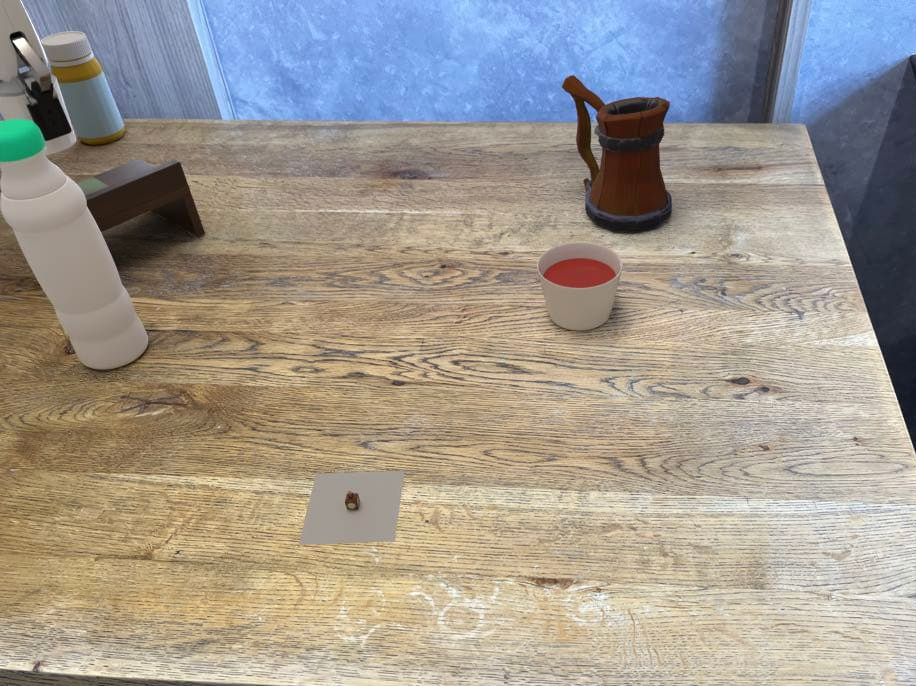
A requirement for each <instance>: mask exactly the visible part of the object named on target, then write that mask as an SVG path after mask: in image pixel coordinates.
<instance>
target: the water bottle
mask: <svg viewBox="0 0 916 686" xmlns="http://www.w3.org/2000/svg"><path fill="white" fill-rule="evenodd" d="M46 150H47V148H46V146H45V140H44V137H43V135H42V133H41V131H40V129H39V127H38V126H37V125H36V124H35V123H34V122H32V121H30V120H26V119H12V120H1V121H0V171H1V176H0V191H1V192H0V211H1V215H2V217H3V219H4V220H5V222H6V223H7V225H9V226H10V227H11V228H12V230H13V233H14V236H15V238H16V240H17V241H16V242H17V243H18V245H19V247H20V250H21V251H22V254H23V256H24V257H25V260H26V262H27V263H28V265H29V267H30V269H31V271H32V273H33V275H34V277H35V279H36V280H37V282H38V284H39V286H40V287H41V289H42V290H43V291H42V292H44V294H45V296H46V298H47V299H48V300H49V301H50V303H51V305H52V306H53V308H54V312H55V315H56V318H57V320H58V322H59V324H60V325H61V327H62V329H63V330H64V331H65V333H66V334H67V335H68V337H69V340H70V343H71V346H72V348H73V351H74V352H75V354H76V356H77V358H78V360H79V361H80V363H82V365H84V366H85V367H87V368H90V369H94V370H101V371H102V370H113V369H117V368H118V369H119V368H121V367H123V366H127V365H128V364H130V363H133V362H134V361H136V360H137V359H138V358H139V357H140V356H141V355H142V354H143V353H145V351H146V350H147V347H148V344H149V336H148V335H149V334H148V332H147V331H146V328H145V326H144V324H143V322H142V320H141V319H140V317H139V316H138V314H137V313H136V310H135V306H134V302H133V300H132V298H131V296H130V294H129V292H128V290H127V288H125V286H124V285H123V284H122V283H123V282H122V280H121V277H120V274H119V271H118V268H117V265H116V263H115V260H114V258H113V256H112V254H111V252H110V249H109V247H108V244H107V242H106V241H105V238H104V235H103V233H102V232H100V229H99V227H98V225H97V224H96V222H95V220H94V218H93V216H92V214H91V213H90V211H89V209H88V208H87V202H86V198H85V195H84V193H83V191H82V190H81V188H80V187H79V186H78V185H77V184H76V183H77V182H75V181H74V180H73V179H72V178H71V177H70V176H68V175H67V174H66V173H64V171H63V170H62V169H61V168H60V167H59V166H57V165H56V164H54V162H52V161H51V160H49V159H48V157H47V155H45V152H46Z"/></svg>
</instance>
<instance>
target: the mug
mask: <svg viewBox="0 0 916 686" xmlns="http://www.w3.org/2000/svg"><path fill="white" fill-rule="evenodd" d="M561 88H562V89H563V91H565V92H566V93H567V94H568V95H570V96H571V98H572V99H573V101H574V106H575V109H576V120H577V124H576V125H577V126H576V137H575V142H576V147H577V152H578V153H579V157H580V158H581V159H582V160H583V161H584V163H585V164H586V166H587V167H588V169H589V174H590V179H589V178H587V177H585V178H584V179H583V180H582V181H583V185H584V188H585V190H586V192H585V199H584V200H585V201H584V211H585V213H586V215H587V216H588V217H589V218H590V219H591V220H592V221H594V222H595V224H598V226H601V227H602V228H605V229H608V230H609V231H611V232H613V233H641V232H645V231H650V230H654V229H657V228H659V227H660V226H661V225H662V224H663V223H665V221H667V220H668V219H669V218H670V217H671V214H672V210H673V198H672V195H671V193H670V192H669V191H668V190H667V188H666V183H665V181H664V177H663V172H662V170H661V155H660V143H661V142H662V140H663V138H664V136H665V126H664V121H665V118H666V116H667V114H668V112H669V110H670V107H671V102H670V101H669V100H667V99H665V98H663V97H660V96H654V97H645V96H635V97H630V98H622V99H619V100H618V99H617V100H614V101H611V102H609V103H604V101H603V100H602V99H601V97H600V96H599V95H597V94H596V93H595V92H593V91H592V90H591V89H589V88H587V87H586V85H584V83H583V82H582V81H581V80H580V79H579V78H578V77H577V76H576V75H573V74H570V75H568V76H567V77H565V78H564V80H563V83H562V85H561ZM586 104H587V105H589V106H590V107H591V108H593V109H594V110H595V111H596V113H597V114H596V116H595V119H596V122H597V125H595V127H594V131H593V133H594V135H596V136H597V137H598V140H597V141H598V144H599V145H600V147H601V157H600V165H598V162H597V160H596V158H595V156H594V154H593V151H592V147H591V145H592V121H591V120H592V119H591V116H590V113H589V109H588V107H587V106H586ZM599 166H600V167H599Z"/></svg>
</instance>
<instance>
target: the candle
mask: <svg viewBox="0 0 916 686" xmlns="http://www.w3.org/2000/svg"><path fill="white" fill-rule="evenodd" d="M536 262H537V263H536V270H537V275H538V279H539V282H540V287H541V290H542V295H543V299H544V303H545V307H546V310H547V314H548V317H549V318H550V319H551V321H552V322H553V323H554V324H555V325H557V326H559V327H561V328H563V329H567V330H571V331H589V330H593V329H596V328H598V327H600V326H602V325H604V324H605V323H606V322H608V320H609V318H610V317H611V314H612V311H613V307H614V303H615V299H616V295H617V291H618V287H619V284H620V279H621V275H622V270H623V260H622V258H621V256H620V255H619V254H618V252H616V251H615V250H613V249H612V248H610V247H608V246H605V245H603V244H599V243H595V242H589V241H573V242H572V241H571V242H565V243H561V244H558V245H555V246H552V247H551V248H548V249H547V250H545V251H544V252H543V253H542V254H540V256H539V258H538V259H537V261H536Z"/></svg>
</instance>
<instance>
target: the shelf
mask: <svg viewBox="0 0 916 686" xmlns="http://www.w3.org/2000/svg"><path fill="white" fill-rule="evenodd" d="M75 183H76V184H77V185H78V186H79V187H80V188H81V190H82V191H83V193H84V195H85V198H86V202H87V208H88V209H89V211H90V213H91V214H92V216H93V218H94V220H95V222H96V224H97V225H98V227H99V229H100V232H101V233H104V232H106V231H108V230H110V229H112V228H115V227H117V226H119V225H121V224H124V223H127V222H129V221H131V220H133V219H136V218H138V217H140V216H142V215H144V214H147V213H149V212H152V213H154V214H155V215H157V216H158V217H161V218H162V219H164V220H166V221H167V222H169V223H171V224H173V225H174V226H177V227H178V228H180V229H182V230H183V231H185V232H187V233H189V234H191V235H192V236H194V237H195V238H200V237H202V236H204V235H206V232H205V228H204V227H203V223H202V220H201V218H200V217H201V216H200V215H199V211H198V209H197V206H196V203H195V201H194V197H193V194H192V191H191V188H190V185H189V182H188V180H187V178H186V175H185V172H184V168H183V166H182V163H181V161H179V160H177V159H172V160H170V161H167V162H165V163H163V164H160V165H157V166H153V165H152V164H149V163H148V162H145V161H143V160H142V159H140V158H137V159H134V160H131V161H129V162H126V163H124V164H121V165H118V166H116V167H114V168H111V169H108V170H105V171H104V172H101V173H98V174H96V175H93V176H91V177H88V178H85V179H83V180H81V181H78V182H75Z"/></svg>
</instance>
